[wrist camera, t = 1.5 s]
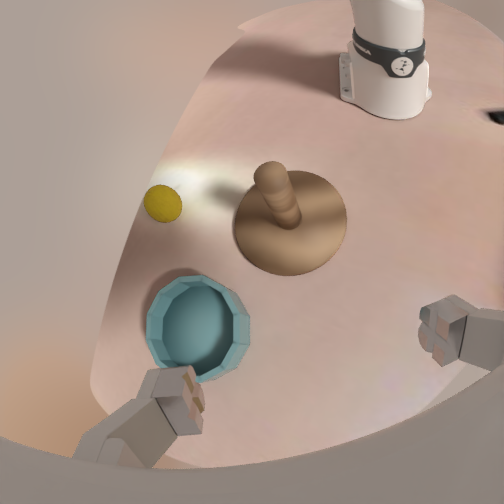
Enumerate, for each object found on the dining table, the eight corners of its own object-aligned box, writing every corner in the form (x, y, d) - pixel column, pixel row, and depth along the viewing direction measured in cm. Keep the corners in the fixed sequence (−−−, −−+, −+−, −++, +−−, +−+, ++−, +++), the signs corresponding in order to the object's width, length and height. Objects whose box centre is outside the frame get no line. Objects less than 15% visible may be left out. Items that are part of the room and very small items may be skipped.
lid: (238, 182, 45) (207, 136, 34) (337, 168, 40) (332, 112, 29) (236, 280, 40) (196, 254, 29) (353, 270, 35) (358, 236, 24)
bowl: (164, 284, 43) (149, 278, 39) (249, 279, 39) (239, 271, 35) (161, 374, 38) (145, 375, 34) (250, 381, 34) (239, 385, 31)
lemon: (157, 224, 47) (129, 204, 40) (172, 197, 48) (146, 173, 41) (180, 233, 45) (152, 213, 38) (195, 204, 46) (171, 179, 38)
